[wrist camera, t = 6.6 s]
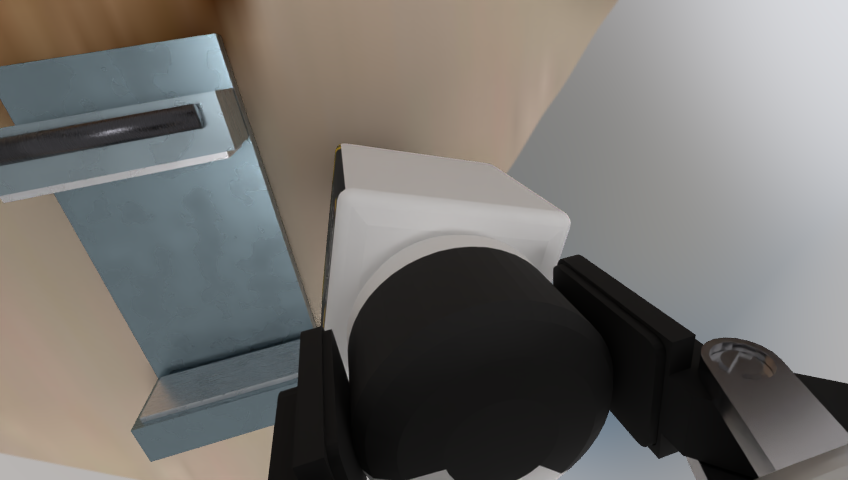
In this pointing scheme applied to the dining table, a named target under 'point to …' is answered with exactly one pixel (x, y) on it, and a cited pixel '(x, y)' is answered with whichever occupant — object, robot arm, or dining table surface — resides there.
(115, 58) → the base
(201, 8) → the dining table surface
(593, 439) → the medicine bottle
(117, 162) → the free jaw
